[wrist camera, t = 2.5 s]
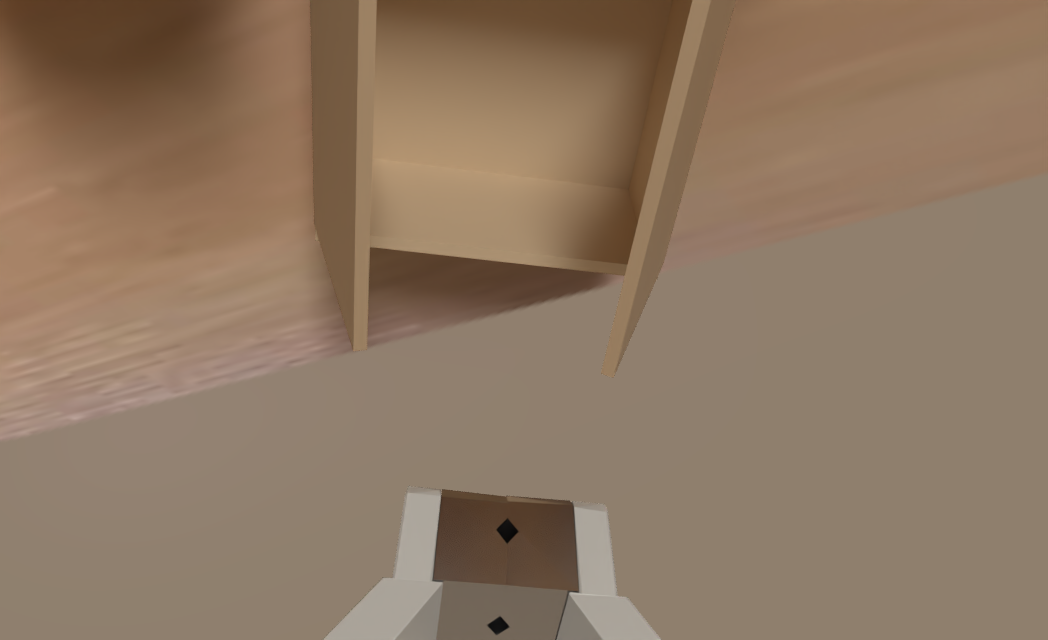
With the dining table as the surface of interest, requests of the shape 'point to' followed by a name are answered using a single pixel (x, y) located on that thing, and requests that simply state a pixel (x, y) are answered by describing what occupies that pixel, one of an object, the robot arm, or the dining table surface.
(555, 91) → the carton
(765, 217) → the dining table surface
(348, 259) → the flap
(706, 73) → the flap
